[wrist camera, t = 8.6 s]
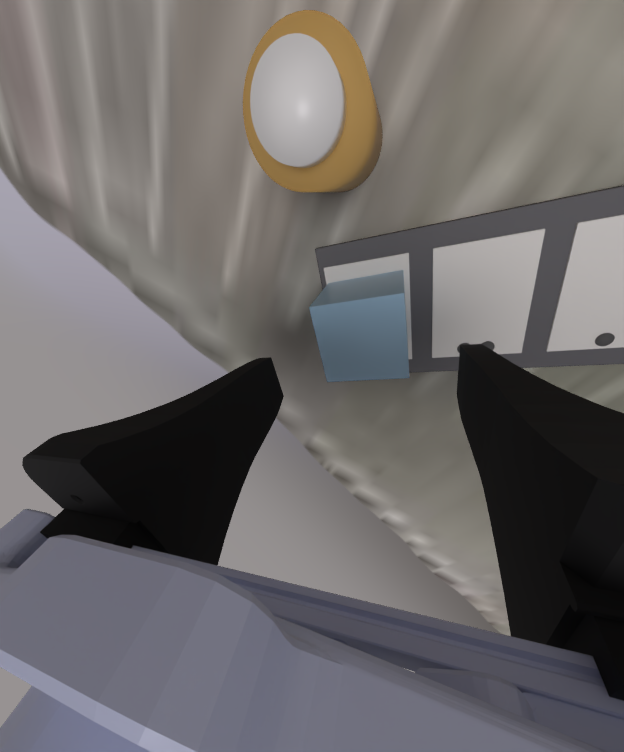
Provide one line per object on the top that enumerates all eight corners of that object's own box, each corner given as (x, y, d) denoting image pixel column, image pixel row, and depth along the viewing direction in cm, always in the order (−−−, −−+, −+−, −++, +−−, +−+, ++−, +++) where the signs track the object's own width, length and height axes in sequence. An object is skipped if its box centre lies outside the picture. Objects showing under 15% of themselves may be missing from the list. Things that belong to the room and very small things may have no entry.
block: (407, 340, 16) (409, 378, 13) (340, 346, 17) (327, 382, 14) (403, 269, 14) (403, 293, 11) (328, 283, 15) (309, 307, 12)
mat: (653, 358, 14) (662, 363, 13) (340, 372, 19) (338, 376, 19) (747, 160, 10) (763, 158, 9) (316, 247, 15) (314, 249, 15)
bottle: (385, 180, 13) (374, 172, 7) (312, 200, 14) (254, 206, 8) (378, 72, 11) (356, -49, 5) (294, 105, 12) (207, 33, 7)
